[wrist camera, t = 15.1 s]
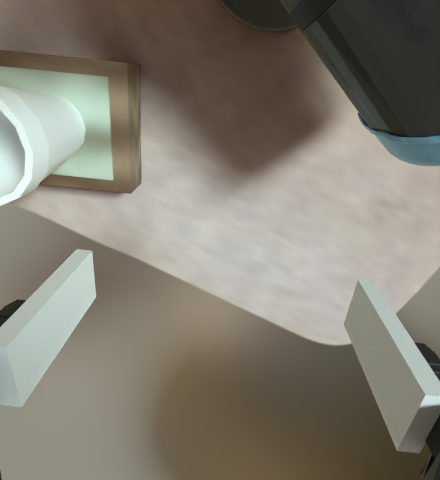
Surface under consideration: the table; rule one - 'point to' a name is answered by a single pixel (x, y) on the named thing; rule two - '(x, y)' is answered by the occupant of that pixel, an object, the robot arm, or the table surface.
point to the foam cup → (34, 139)
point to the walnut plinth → (88, 115)
